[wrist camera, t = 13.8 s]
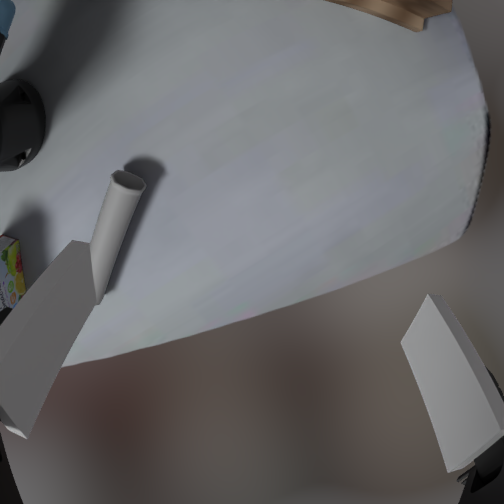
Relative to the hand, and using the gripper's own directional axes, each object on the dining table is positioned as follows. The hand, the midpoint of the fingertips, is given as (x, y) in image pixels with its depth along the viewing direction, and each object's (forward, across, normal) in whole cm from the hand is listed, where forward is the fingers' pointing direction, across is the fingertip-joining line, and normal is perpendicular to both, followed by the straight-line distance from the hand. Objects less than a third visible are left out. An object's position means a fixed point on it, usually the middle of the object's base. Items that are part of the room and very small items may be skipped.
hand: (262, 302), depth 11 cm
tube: (+33, -21, -19) cm, 44 cm away
